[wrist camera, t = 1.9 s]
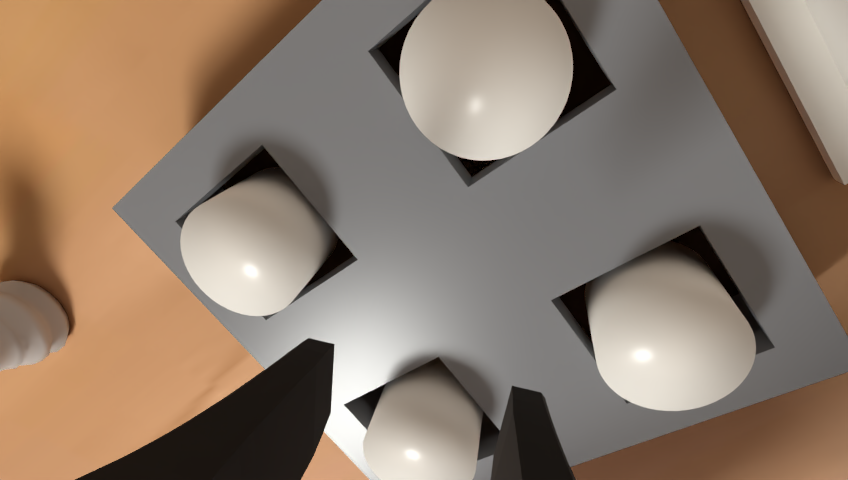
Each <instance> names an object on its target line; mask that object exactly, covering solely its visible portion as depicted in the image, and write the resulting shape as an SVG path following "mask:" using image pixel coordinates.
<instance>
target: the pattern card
mask: <svg viewBox="0 0 848 480" xmlns="http://www.w3.org/2000/svg"><path fill="white" fill-rule="evenodd" d="M741 2H742V4H743V6H744V8H745V10H746V12H747V13H748V15H749V17H750V19H751V21H752V23H753V25H754V27H755V29H756V31H757V33H758V35H759V36H760V38H761V40H762V42H763V44H764V46H765V48H766V50H767V52H768V54H769V56H770V58H771V59H772V61H773V63H774V65H775V67H776V69H777V71H778V73H779V75H780V77H781V79H782V81H783V83H784V84H785V86H786V88H787V90H788V92H789V94H790V96H791V98H792V100H793V102H794V104H795V106H796V107H797V109H798V111H799V113H800V115H801V117H802V119H803V121H804V123H805V125H806V127H807V129H808V130H809V132H810V134H811V136H812V138H813V140H814V142H815V144H816V146H817V148H818V150H819V152H820V153H821V155H822V157H823V159H824V161H825V163H826V165H827V167H828V169H829V171H830V173H831V175H832V177H833V178H834V180H836V181H838V182H840V183H842V184H843V185H846V184H848V0H741Z"/></svg>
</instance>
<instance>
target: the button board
mask: <svg viewBox="0 0 848 480" xmlns="http://www.w3.org/2000/svg"><path fill="white" fill-rule="evenodd" d="M431 1H432V0H322V1H321V2H320V3H319V4H318V5H317V6H316V7H315V8H314V9H313V10H312V11H311V12H310V13H309V14H308V15H307V16H305V17H304V18H303V19H302V20H301V21H300V22H299V23H298V24H297V25H296V26H295V27H294V28H293V29H292V30H291V31H290V32H289V33H288V34H287V35H286V36H285V37H284V38H283V39H282V40H281V41H280V42H279V43H278V44H277V45H276V46H275V47H274V48H273V49H272V50H271V51H270V52H269V53H268V54H267V55H266V56H265V57H264V58H263V59H262V60H261V61H260V62H259V63H258V64H257V65H256V66H255V67H254V68H253V69H252V70H251V71H250V72H249V73H248V74H247V75H246V76H245V77H244V78H243V79H242V80H241V81H240V82H239V83H238V84H237V85H236V86H235V87H234V88H233V89H232V90H231V91H230V92H229V93H228V94H227V95H226V96H225V97H224V98H223V99H222V100H221V101H220V102H219V103H218V104H217V105H216V106H215V107H214V108H213V109H212V110H211V111H210V112H209V113H208V114H207V115H206V116H205V117H204V118H203V119H202V120H201V121H200V122H199V123H198V124H197V125H196V126H195V127H194V128H193V129H191V130H190V131H189V132H188V133H187V134H186V135H185V136H184V137H183V138H182V139H181V140H180V141H179V142H178V143H177V144H176V145H175V146H174V147H173V148H172V149H171V150H170V151H169V152H168V153H167V154H166V155H165V156H164V157H163V158H162V159H161V160H160V161H159V162H158V163H157V164H156V165H155V166H154V167H153V168H152V169H151V170H150V171H149V172H148V173H147V174H146V175H145V176H144V177H143V178H142V179H141V180H140V181H139V182H138V183H137V184H136V185H135V186H134V187H133V188H132V189H131V190H130V191H129V192H128V193H127V194H126V195H125V196H124V197H123V198H122V199H121V200H120V201H119V202H118V203H117V204H116V205H115V206H114V207H113V208H112V209H113V210H114V211H115V212H116V213H117V214H118V215H119V216H120V217H121V218H122V219H123V220H124V221H125V222H126V223H127V224H128V226H129V227H130V228H131V229H132V230H133V231H134V232H135V233H136V234H137V235H138V236H139V237H140V238H141V239H142V240H143V241H144V242H145V243H146V244H147V246H148V247H149V248H150V249H151V250H152V251H153V252H154V253H155V254H156V255H157V256H158V257H159V258H160V259H161V260H162V261H163V262H164V263H165V264H166V266H167V267H168V268H169V269H170V270H171V271H172V272H173V273H174V274H175V275H176V276H177V277H178V278H179V279H180V280H181V281H182V282H183V283H184V284H185V286H186V287H187V288H188V289H189V290H190V291H191V292H192V293H193V294H194V295H195V296H196V297H197V298H198V299H199V300H200V301H201V302H202V303H203V305H204V306H205V307H206V308H207V309H208V310H209V311H210V312H211V313H212V314H213V315H214V316H215V317H216V318H217V319H218V320H219V321H220V322H221V323H222V325H223V326H224V327H225V328H226V329H227V330H228V331H229V332H230V333H231V334H232V335H233V336H234V337H235V338H236V339H237V340H238V341H239V342H240V343H241V345H242V346H243V347H244V348H245V349H246V350H247V351H248V352H249V353H250V354H251V355H252V356H253V357H254V358H255V359H256V360H257V361H258V362H259V363H260V365H261V366H262V367H263V368H264V369H266V368H268V367H269V366H271V365H272V364H273V363H275V362H276V361H277V360H279V359H280V358H281V357H283V356H284V355H285V354H287V353H288V352H289V351H291V350H292V349H293V348H295V347H296V346H297V345H299V344H300V343H302V342H303V341H304V340H306V339H308V338H311V339H315V340H319V341H323V342H328V343H332V344H335V345H334V363H333V382H332V400H331V414H330V416H329V419H328V421H327V424H326V426H325V429H324V432H325V433H326V434H327V435H328V436H329V437H330V438H331V439H332V440H333V441H334V442H335V444H336V445H337V446H338V447H339V448H340V449H341V450H342V451H343V452H344V453H345V454H346V455H347V456H348V457H349V458H350V459H351V460H352V461H353V463H354V464H355V465H356V466H357V467H358V468H359V469H360V470H361V471H362V472H363V473H364V474H365V475H366V476H367V477H368V478H369V479H370V480H380V479H379V478H378V477H377V476H376V475H375V474H374V472H373V471H372V470H371V468H370V467H369V465H368V463H367V461H366V459H365V456H364V452H363V441H364V437H365V435H366V432H367V430H368V427H369V424H370V422H371V419H372V417H373V414H374V412H375V409H376V407H377V404H378V402H379V399H380V397H381V394H382V392H383V389H384V387H385V384H386V383H388V382H390V381H392V380H394V379H396V378H398V377H400V376H402V375H404V374H406V373H408V372H410V371H412V370H414V369H416V368H418V367H420V366H422V365H424V364H425V363H427V362H429V361H431V360H433V359H435V358H437V357H439V358H440V359H441V360H442V362H443V363H444V364H445V365H446V366H447V368H448V369H449V370H450V371H451V372H452V374H453V375H454V376H455V377H456V378H457V380H458V381H459V382H460V383H461V384H462V386H463V387H464V388H465V389H466V390H467V392H468V393H469V394H470V395H471V397H472V398H473V399H474V400H475V401H476V403H477V404H478V405H479V406H480V407H481V409H482V410H483V416H482V424H481V432H480V441H479V449H478V457H477V465H476V472H475V475H474V478H473V480H491V473H492V465H493V457H494V452H495V448H496V444H497V440H498V436H499V433H500V429H501V425H502V421H503V418H504V414H505V410H506V406H507V403H508V399H509V395H510V391H511V388H512V386H516V387H520V388H524V389H529V390H533V391H537V392H541V393H542V394H543V396H544V397H545V399H546V403H547V406H548V409H549V413H550V416H551V419H552V422H553V424H554V427H555V430H556V433H557V435H558V438H559V441H560V443H561V446H562V449H563V451H564V454H565V456H566V458H567V461H568V463H569V466H570V467H572V466H575V465H578V464H581V463H584V462H587V461H589V460H592V459H595V458H598V457H601V456H604V455H607V454H610V453H613V452H616V451H619V450H622V449H624V448H627V447H630V446H633V445H636V444H639V443H642V442H645V441H648V440H651V439H654V438H657V437H659V436H662V435H665V434H668V433H671V432H674V431H677V430H680V429H683V428H686V427H689V426H692V425H695V424H697V423H700V422H703V421H706V420H709V419H712V418H715V417H718V416H721V415H724V414H727V413H730V412H732V411H735V410H738V409H741V408H744V407H747V406H750V405H753V404H756V403H759V402H762V401H765V400H767V399H770V398H773V397H776V396H779V395H782V394H785V393H788V392H791V391H794V390H797V389H800V388H803V387H805V386H808V385H811V384H814V383H817V382H820V381H823V380H826V379H829V378H832V377H835V376H838V375H840V374H843V373H846V372H848V336H847V334H846V333H845V331H844V329H843V327H842V326H841V324H840V322H839V320H838V319H837V317H836V315H835V313H834V311H833V310H832V308H831V306H830V304H829V303H828V301H827V299H826V297H825V295H824V294H823V292H822V290H821V288H820V287H819V285H818V283H817V281H816V280H815V278H814V276H813V274H812V272H811V271H810V269H809V267H808V265H807V264H806V262H805V260H804V258H803V256H802V255H801V253H800V251H799V249H798V248H797V246H796V244H795V242H794V241H793V239H792V237H791V235H790V233H789V232H788V230H787V228H786V226H785V225H784V223H783V221H782V219H781V217H780V216H779V214H778V212H777V210H776V209H775V207H774V205H773V203H772V202H771V200H770V198H769V196H768V194H767V193H766V191H765V189H764V187H763V186H762V184H761V182H760V180H759V178H758V177H757V175H756V173H755V171H754V170H753V168H752V166H751V164H750V163H749V161H748V159H747V157H746V155H745V154H744V152H743V150H742V148H741V147H740V145H739V143H738V141H737V139H736V138H735V136H734V134H733V132H732V131H731V129H730V127H729V125H728V124H727V122H726V120H725V118H724V116H723V115H722V113H721V111H720V109H719V108H718V106H717V104H716V102H715V100H714V99H713V97H712V95H711V93H710V92H709V90H708V88H707V86H706V85H705V83H704V81H703V79H702V77H701V76H700V74H699V72H698V70H697V69H696V67H695V65H694V63H693V61H692V60H691V58H690V56H689V54H688V53H687V51H686V49H685V47H684V46H683V44H682V42H681V40H680V38H679V37H678V35H677V33H676V31H675V30H674V28H673V26H672V24H671V22H670V21H669V19H668V17H667V15H666V14H665V12H664V10H663V8H662V7H661V5H660V3H659V1H658V0H559V1H560V2H561V4H562V6H563V7H564V9H565V10H566V12H567V14H568V15H569V17H570V19H571V20H572V22H573V23H574V25H575V27H576V28H577V30H578V32H579V33H580V35H581V36H582V38H583V40H584V41H585V43H586V45H587V46H588V48H589V49H590V51H591V53H592V54H593V56H594V58H595V59H596V61H597V62H598V64H599V66H600V67H601V69H602V71H603V72H604V74H605V75H606V77H607V79H608V80H609V82H610V84H611V85H609V86H608V87H606V88H605V89H603V90H602V91H600V92H599V93H597V94H596V95H594V96H593V97H591V98H590V99H588V100H587V101H585V102H584V103H582V104H581V105H579V106H578V107H576V108H575V109H573V110H572V111H570V112H569V113H567V114H566V115H564V116H563V117H561V118H560V119H558V120H557V121H556V122H555V124H554V125H553V126H552V127H551V129H550V130H549V131H548V132H547V133H546V134H545V135H544V136H543V137H542V138H541V139H540V140H539V141H537V142H536V143H535V144H533V145H532V146H530V147H529V148H527V149H525V150H523V151H522V152H520V153H517V154H515V155H512V156H509V157H506V158H502V159H498V160H497V161H495V162H494V163H492V164H491V165H489V166H488V167H486V168H485V169H483V170H482V171H480V172H479V173H477V174H476V175H474V176H473V177H471V175H470V174H469V173H468V171H467V170H466V168H465V167H464V166H463V164H462V163H461V162H460V160H459V159H458V157H457V156H455V155H453V154H450V153H448V152H446V151H444V150H442V149H441V148H439V147H438V146H436V145H435V144H433V143H432V142H431V141H430V140H429V139H428V138H427V137H425V136H424V135H423V133H422V132H421V131H420V130H419V129H418V127H417V126H416V125H415V123H414V121H413V120H412V118H411V117H410V115H409V112H408V110H407V108H406V106H405V103H404V100H403V97H402V92H401V87H400V78H399V76H398V75H397V74H396V72H395V71H394V69H393V68H392V67H391V65H390V64H389V63H388V61H387V60H386V58H385V57H384V56H383V54H382V53H381V52H380V50H379V48H380V47H381V46H382V45H383V44H384V43H386V42H387V41H388V40H389V39H390V38H391V37H392V36H394V35H395V34H396V33H397V32H398V31H399V30H400V29H402V28H403V27H404V26H405V25H406V24H407V23H408V22H409V21H411V20H412V19H413V18H414V17H415V16H416V15H417V14H419V13H420V12H421V11H422V10H423V9H424V8H425V7H426V6H427V5H428V4H429V3H430V2H431ZM263 149H266V150H267V151H268V152H269V154H270V155H271V156H272V157H273V158H274V160H275V161H276V162H277V163H278V164H279V166H280V167H281V168H282V169H283V170H284V172H285V173H286V174H287V175H288V176H289V178H290V179H291V180H292V181H293V182H294V184H295V185H296V186H297V187H298V188H299V190H300V191H301V192H302V193H303V194H304V196H305V197H306V198H307V199H308V200H309V202H310V203H311V204H312V205H313V207H314V208H315V209H316V210H317V211H318V213H319V214H320V215H321V216H322V217H323V219H324V220H325V221H326V222H327V223H328V225H329V226H330V227H331V228H332V229H333V231H334V232H335V233H336V234H337V235H338V237H339V238H340V239H341V240H342V241H343V243H344V244H345V245H346V246H347V247H348V249H349V250H350V251H351V252H352V253H353V255H354V256H352V257H351V258H349V259H348V260H346V261H345V262H343V263H342V264H340V265H339V266H337V267H336V268H334V269H333V270H331V271H330V272H328V273H327V274H325V275H324V276H322V277H321V278H319V279H318V280H316V281H315V282H313V283H312V284H310V285H309V286H308V285H307V284H306V285H305V287H304V288H303V289H302V290H301V291H300V293H299V294H298V295H297V296H296V297H295V299H294V300H293V301H292V302H291V303H290V304H289V305H288V306H287V307H286V308H284V309H283V310H281V311H279V312H277V313H274V314H271V315H266V316H249V315H243V314H240V313H236V312H233V311H231V310H229V309H226V308H225V307H223V306H221V305H219V304H218V303H216V302H215V301H213V300H212V299H211V298H210V297H208V296H207V295H206V294H205V293H204V292H203V291H202V290H201V289H200V288H199V287H198V285H197V284H196V283H195V282H194V280H193V279H192V277H191V276H190V274H189V272H188V270H187V268H186V266H185V263H184V260H183V257H182V253H181V246H180V238H181V231H182V227H183V224H184V222H185V220H186V218H187V217H188V215H189V214H190V213H191V212H192V211H193V210H194V209H195V208H196V207H198V206H199V205H201V204H202V203H204V202H206V201H208V200H209V199H211V198H213V197H215V196H216V195H218V194H220V193H221V192H223V191H225V190H224V189H223V188H222V187H221V186H222V185H223V184H225V183H226V182H227V181H228V180H229V179H230V178H231V177H233V176H234V175H235V174H236V173H237V172H238V171H239V170H241V169H242V168H243V167H244V166H245V165H246V164H247V163H249V162H250V161H251V160H252V159H253V158H254V157H255V156H257V155H258V154H259V153H260V152H261V151H262V150H263ZM696 227H699V228H700V230H701V231H702V233H703V235H704V236H705V238H706V240H707V241H708V243H709V244H710V246H711V248H712V249H713V251H714V253H715V254H716V256H717V258H718V259H719V261H720V262H721V264H722V266H723V267H724V269H725V271H726V272H727V274H728V275H729V277H730V279H731V280H732V282H733V284H734V285H735V287H736V288H737V290H738V292H739V294H737V295H735V296H732V297H731V298H732V300H733V301H734V303H735V304H736V306H737V307H738V308H739V310H740V311H741V313H742V314H743V316H744V317H745V318H746V320H747V321H748V323H749V325H750V327H751V329H752V330H753V333H754V337H755V342H756V355H755V359H754V363H753V366H752V368H751V370H750V372H749V374H748V375H747V377H746V378H745V379H744V381H743V382H742V383H741V384H740V385H739V386H738V387H737V388H736V389H735V390H734V391H732V392H731V393H730V394H728V395H727V396H725V397H723V398H722V399H720V400H718V401H716V402H714V403H711V404H709V405H706V406H703V407H699V408H695V409H690V410H682V411H662V410H654V409H649V408H645V407H642V406H639V405H636V404H634V403H631V402H629V401H627V400H626V399H624V398H622V397H621V396H619V395H618V394H616V393H615V392H614V391H613V390H612V389H611V388H610V387H609V386H608V385H607V384H606V382H605V381H604V379H603V378H602V376H601V374H600V372H599V370H598V367H597V363H596V358H595V353H594V347H593V343H592V342H591V340H590V339H589V338H588V336H587V335H586V333H585V332H584V331H583V329H582V328H581V327H580V325H579V324H578V322H577V321H576V320H575V318H574V317H573V316H572V314H571V313H570V311H569V310H568V309H567V307H566V306H565V305H564V303H563V302H562V300H561V299H560V298H559V296H561V295H563V294H565V293H567V292H569V291H571V290H573V289H575V288H577V287H579V286H581V285H583V284H585V283H587V282H588V281H590V280H592V279H594V278H596V277H598V276H600V275H602V274H604V273H606V272H608V271H610V270H612V269H614V268H616V267H618V266H620V265H622V264H624V263H626V262H628V261H630V260H632V259H634V258H636V257H638V256H640V255H642V254H644V253H646V252H648V251H650V250H652V249H654V248H656V247H658V246H660V245H662V244H664V243H666V242H668V241H670V240H672V239H674V238H676V237H678V236H680V235H682V234H684V233H686V232H688V231H690V230H692V229H694V228H696Z"/></svg>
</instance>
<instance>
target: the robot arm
mask: <svg viewBox="0 0 848 480" xmlns="http://www.w3.org/2000/svg"><path fill="white" fill-rule="evenodd" d="M334 345H335V344H332V343H328V342H323V341H319V340H315V339H311V338H308V339H306V340H304V341H303V342H302V343H300V344H299V345H297V346H296V347H295V348H293V349H292V350H291V351H289V352H288V353H287V354H285V355H284V356H283V357H281V358H280V359H279V360H277V361H276V362H275V363H273V364H272V365H271V366H269V367H268V368H266V369H265V370H264V371H262V372H261V373H260V374H258V375H257V376H255V377H254V378H253V379H251V380H250V381H248V382H247V383H245V384H244V385H242V386H241V387H240V388H238V389H237V390H235V391H234V392H232V393H231V394H230V395H228V396H227V397H225V398H224V399H222V400H221V401H219V402H217V403H216V404H214V405H213V406H211V407H210V408H208V409H206V410H205V411H203V412H202V413H200V414H198V415H197V416H195V417H194V418H192V419H191V420H189V421H187V422H186V423H184V424H182V425H181V426H179V427H177V428H176V429H174V430H172V431H170V432H169V433H167V434H165V435H163V436H162V437H160V438H158V439H156V440H155V441H153V442H151V443H149V444H147V445H145V446H143V447H142V448H140V449H138V450H136V451H134V452H132V453H130V454H128V455H126V456H124V457H122V458H120V459H118V460H116V461H114V462H112V463H110V464H108V465H106V466H103V467H101V468H99V469H97V470H95V471H93V472H91V473H88V474H86V475H84V476H82V477H80V478H78V479H76V480H301V478H302V476H303V474H304V472H305V471H306V469H307V467H308V465H309V463H310V461H311V459H312V457H313V456H314V453H315V451H316V448H317V446H318V444H319V441H320V439H321V436H322V434H323V431H324V429H325V426H326V424H327V421H328V419H329V416H330V414H331V400H332V382H333V363H334ZM491 480H576V479H575V477H574V475H573V472H572V470H571V468H570V466H569V463H568V461H567V458H566V456H565V454H564V451H563V449H562V446H561V443H560V441H559V438H558V435H557V433H556V430H555V427H554V424H553V422H552V419H551V416H550V413H549V409H548V406H547V403H546V399H545V397H544V396H543V394H542V393H541V392H537V391H533V390H529V389H524V388H520V387H516V386H512V388H511V391H510V395H509V399H508V403H507V406H506V410H505V414H504V418H503V421H502V425H501V429H500V433H499V436H498V440H497V444H496V448H495V452H494V457H493V465H492V473H491Z"/></svg>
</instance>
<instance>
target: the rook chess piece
mask: <svg viewBox="0 0 848 480" xmlns="http://www.w3.org/2000/svg"><path fill="white" fill-rule="evenodd" d="M69 328H70V325H69V321H68V316H67V314H66V312H65V311H64V309H63V307H62V306H61V304H60V303H59V302H58V301H57V300H56V299H55V298H54V297H53V296H52V295H51V294H50V293H49V292H48V291H46V290H44V289H43V288H41V287H39V286H38V285H35V284H31V283H28V282H24V281H13V280H12V281H5V282H0V371H2V370H5V369H15V368H17V367H18V366H19V365H31V364H35V363H38V362H40V361H42V360H43V359H45V358H46V357H47V356H48V355H49V353H50V352H57V351H58V350H60V349H61V348H62V347H63V346H65V343H66V339H67V336H68V332H69Z"/></svg>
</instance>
